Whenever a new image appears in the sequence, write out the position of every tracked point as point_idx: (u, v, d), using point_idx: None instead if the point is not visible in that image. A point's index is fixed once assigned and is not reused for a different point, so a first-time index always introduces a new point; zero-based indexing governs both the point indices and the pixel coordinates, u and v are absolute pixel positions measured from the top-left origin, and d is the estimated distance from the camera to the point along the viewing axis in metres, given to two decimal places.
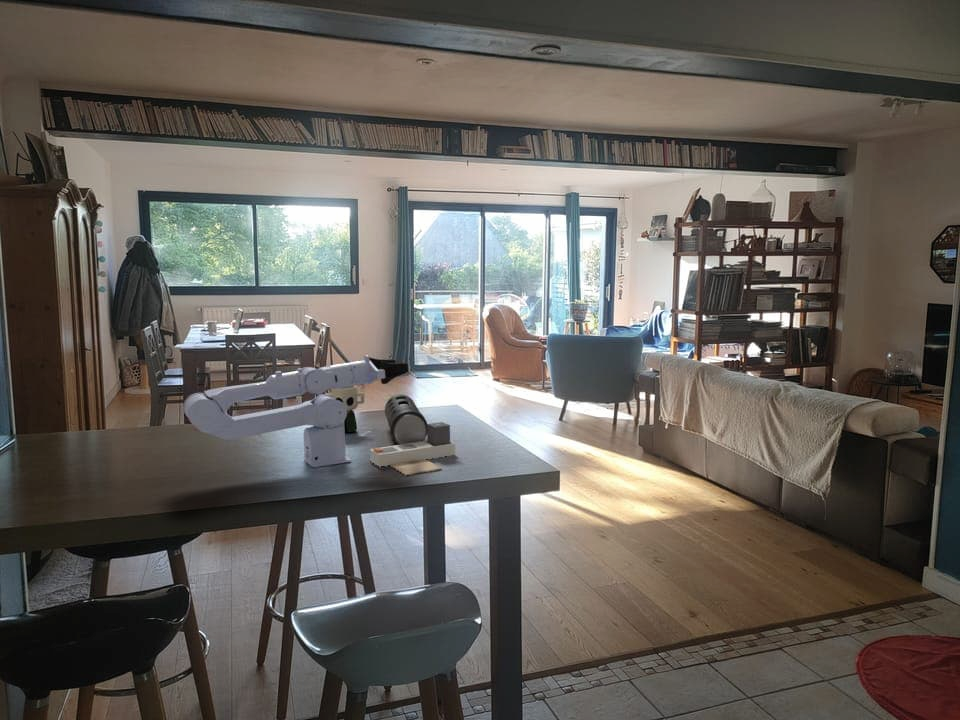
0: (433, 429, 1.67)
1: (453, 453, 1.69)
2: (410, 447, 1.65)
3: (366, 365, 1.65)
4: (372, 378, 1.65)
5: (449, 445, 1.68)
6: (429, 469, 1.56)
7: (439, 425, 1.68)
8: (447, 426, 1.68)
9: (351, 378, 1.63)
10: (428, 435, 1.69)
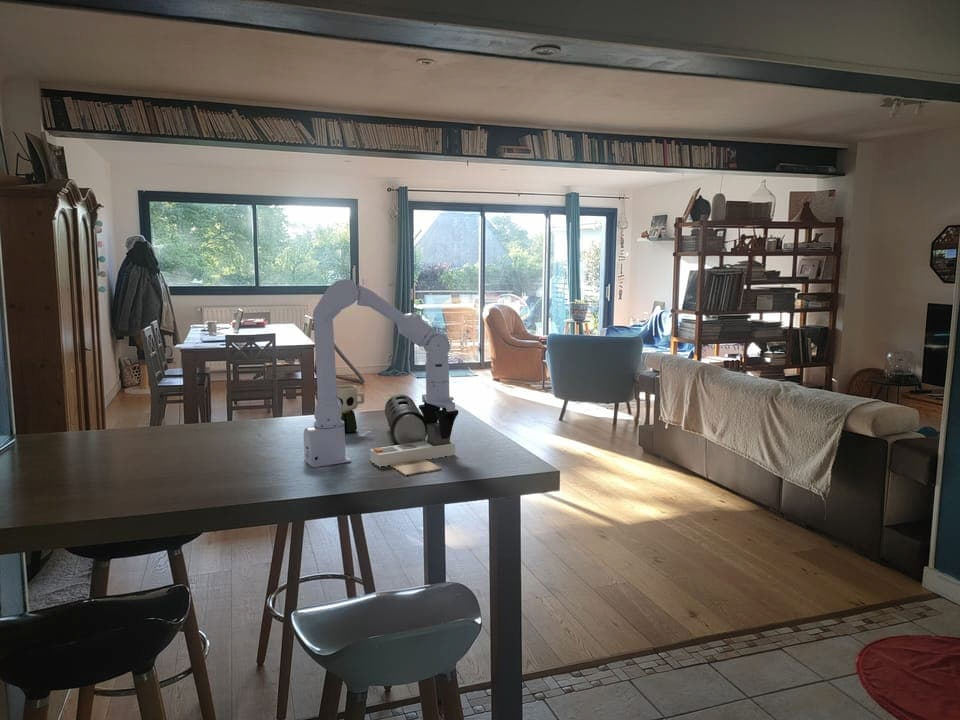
0: (433, 429, 1.67)
1: (453, 453, 1.69)
2: (410, 447, 1.65)
3: (448, 396, 1.67)
4: None
5: (449, 445, 1.68)
6: (429, 469, 1.56)
7: None
8: None
9: (436, 380, 1.65)
10: (428, 435, 1.69)
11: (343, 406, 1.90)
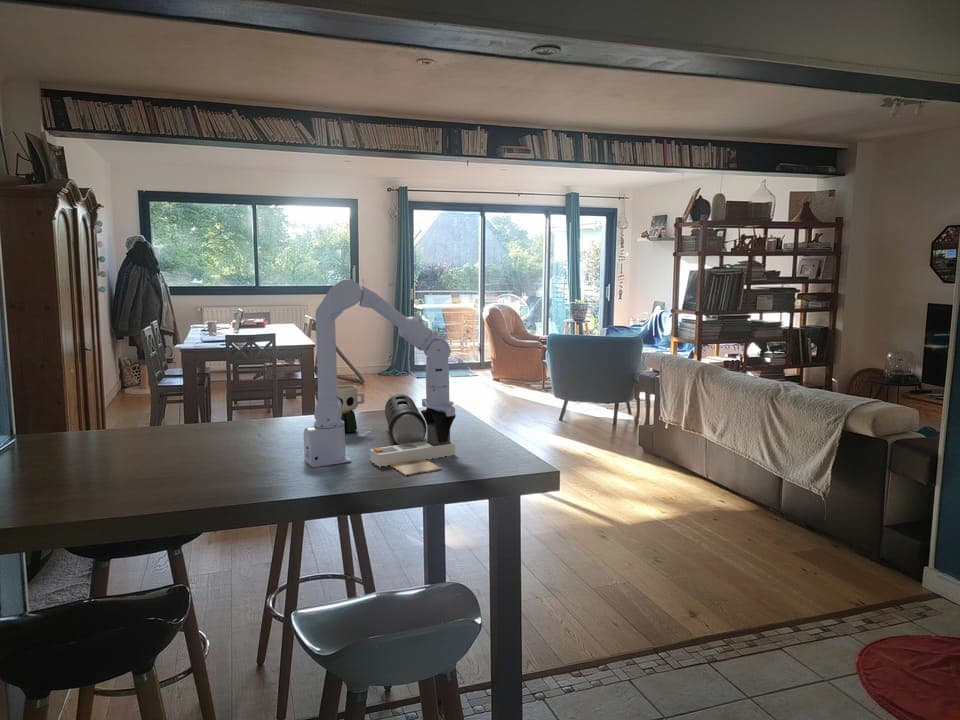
0: (433, 429, 1.67)
1: (453, 453, 1.69)
2: (410, 447, 1.65)
3: (448, 400, 1.67)
4: None
5: (449, 445, 1.68)
6: (429, 469, 1.56)
7: None
8: None
9: (436, 385, 1.65)
10: (428, 435, 1.69)
11: (343, 406, 1.90)
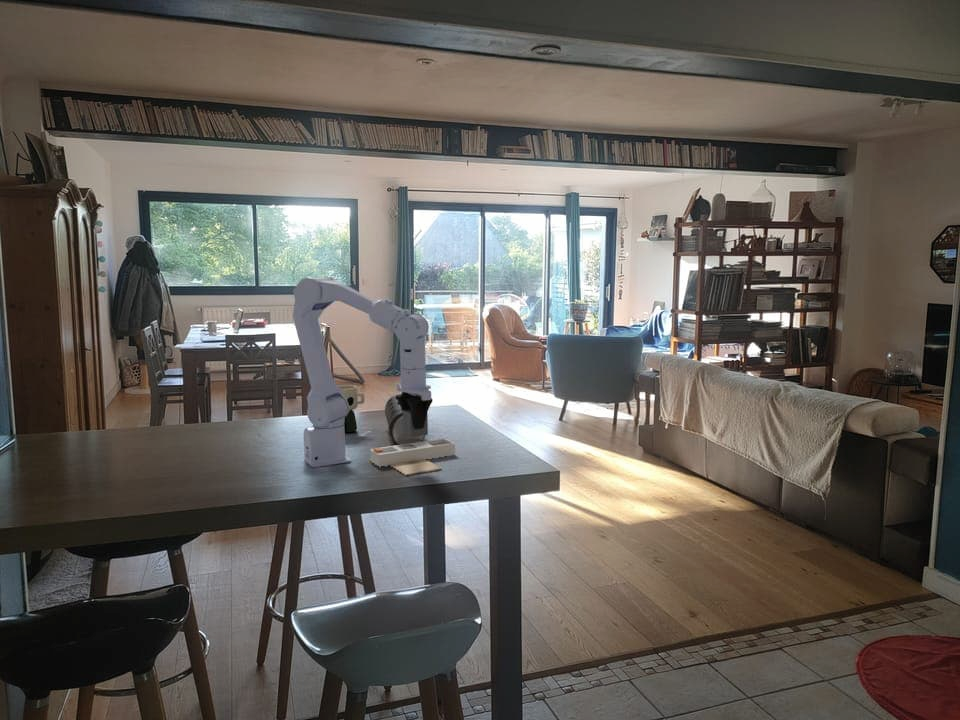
0: (410, 416, 1.54)
1: (453, 453, 1.69)
2: (410, 447, 1.65)
3: (424, 384, 1.55)
4: None
5: (449, 445, 1.68)
6: (429, 469, 1.56)
7: None
8: None
9: (405, 367, 1.53)
10: (404, 423, 1.57)
11: None
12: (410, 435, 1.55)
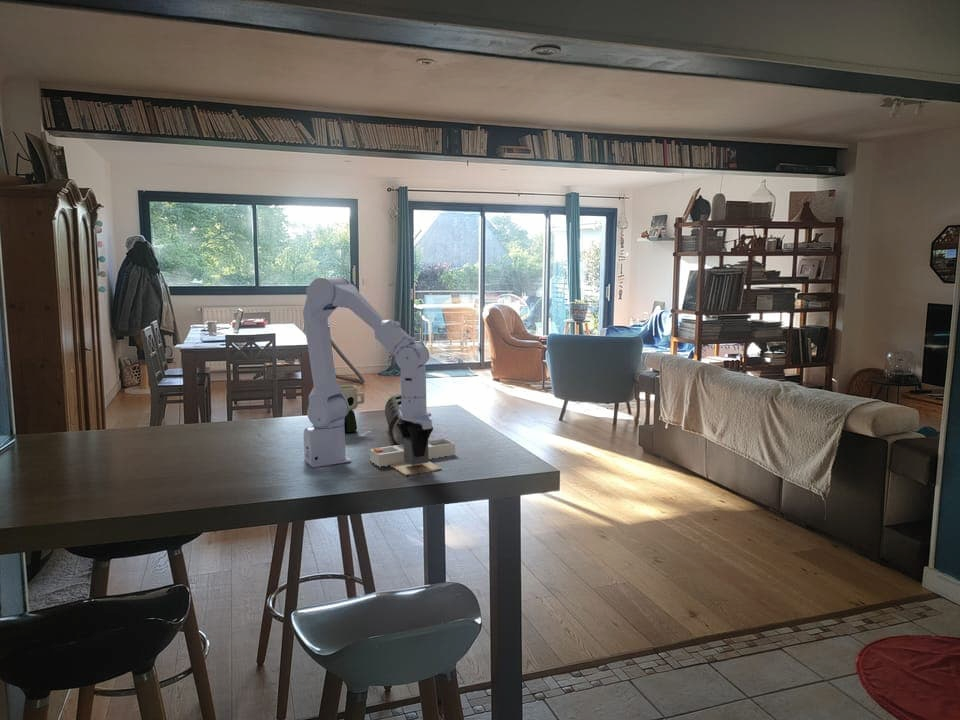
0: (410, 444, 1.55)
1: (453, 453, 1.69)
2: None
3: (425, 412, 1.56)
4: (413, 418, 1.54)
5: (449, 445, 1.68)
6: (429, 469, 1.56)
7: None
8: None
9: (406, 395, 1.54)
10: (405, 450, 1.58)
11: None
12: (411, 463, 1.56)
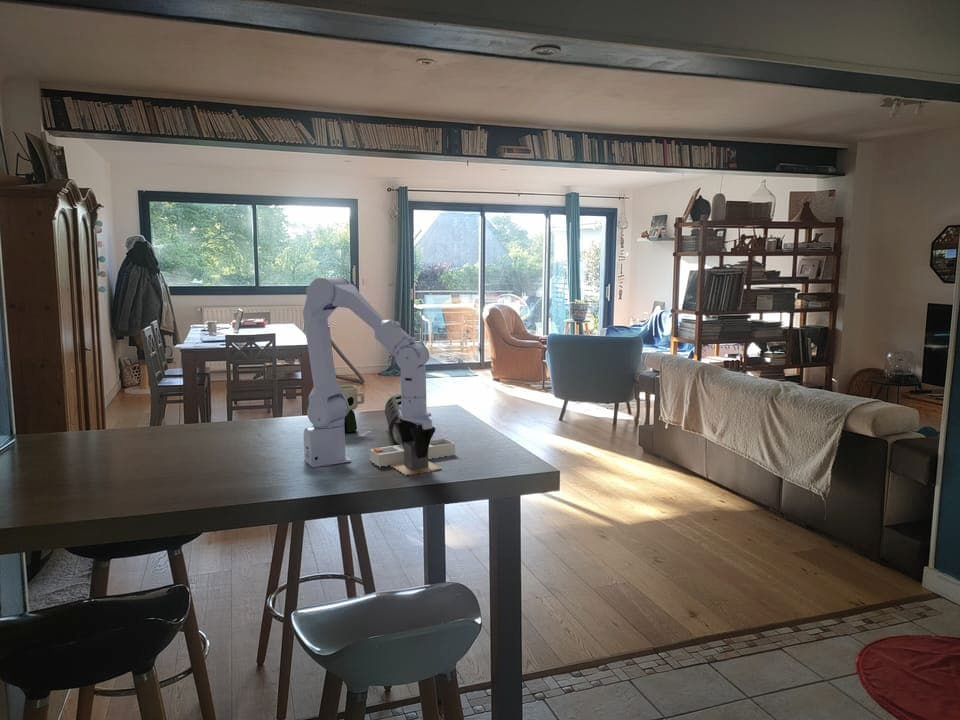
0: (410, 448, 1.55)
1: (453, 453, 1.69)
2: None
3: (425, 412, 1.56)
4: (413, 418, 1.54)
5: (449, 445, 1.68)
6: (429, 469, 1.56)
7: None
8: None
9: (406, 395, 1.54)
10: (405, 455, 1.58)
11: None
12: (411, 468, 1.56)
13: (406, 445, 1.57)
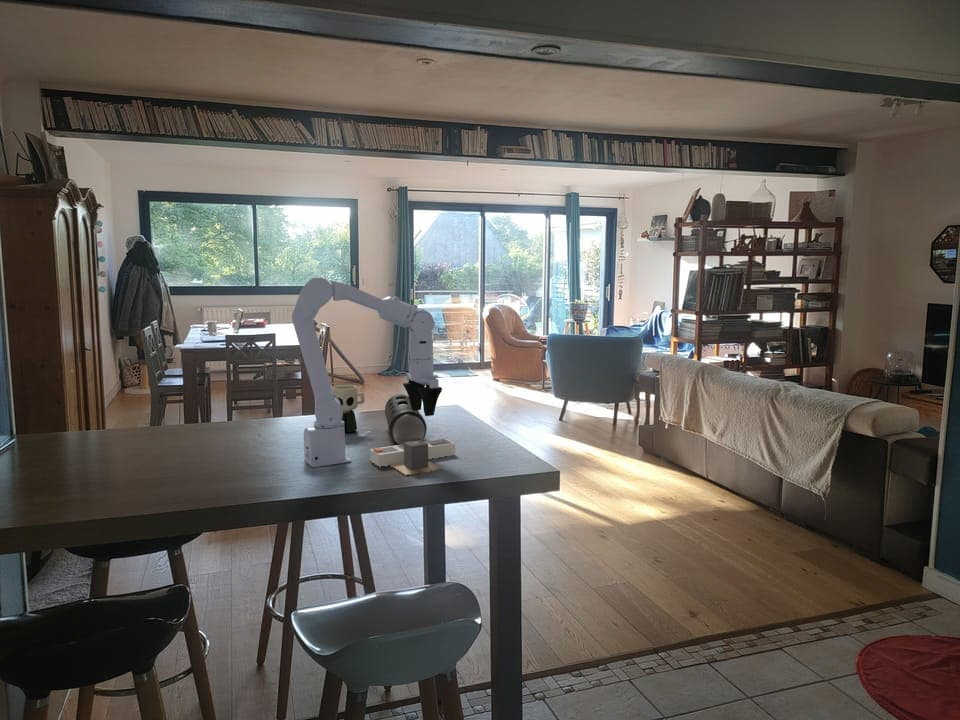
0: (410, 448, 1.55)
1: (453, 453, 1.69)
2: None
3: (432, 373, 1.67)
4: (421, 379, 1.65)
5: (449, 445, 1.68)
6: (429, 469, 1.56)
7: (416, 444, 1.57)
8: (425, 445, 1.56)
9: (421, 357, 1.65)
10: (405, 455, 1.58)
11: (343, 406, 1.90)
12: (411, 468, 1.56)
13: (406, 445, 1.57)
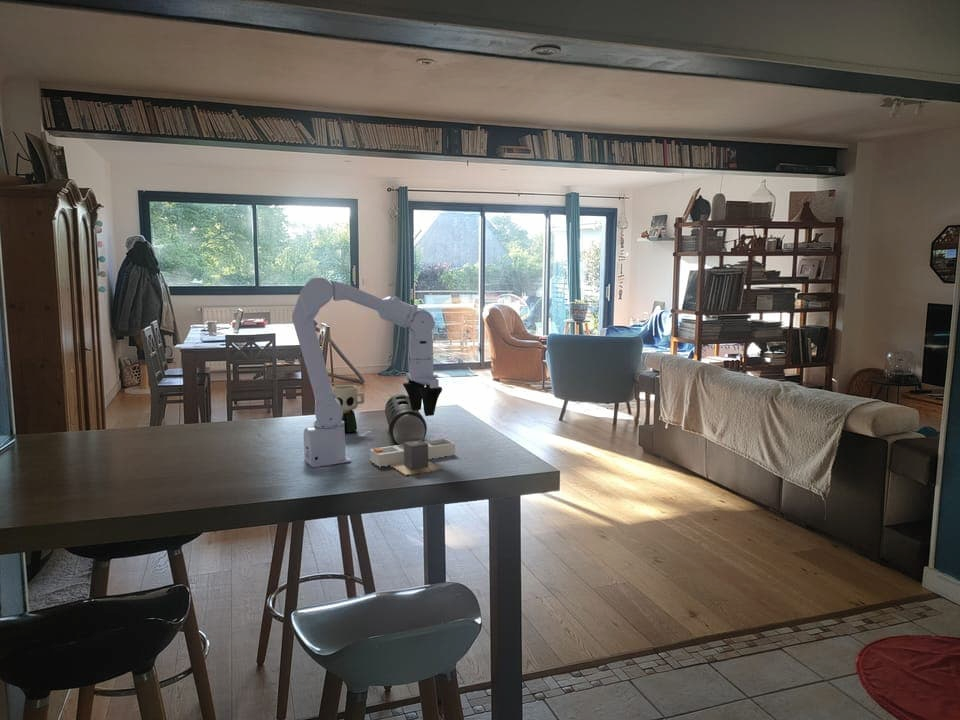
0: (410, 448, 1.55)
1: (453, 453, 1.69)
2: None
3: (432, 373, 1.67)
4: (421, 379, 1.65)
5: (449, 445, 1.68)
6: (429, 469, 1.56)
7: (416, 444, 1.57)
8: (425, 445, 1.56)
9: (421, 357, 1.65)
10: (405, 455, 1.58)
11: (343, 406, 1.90)
12: (411, 468, 1.56)
13: (406, 445, 1.57)
